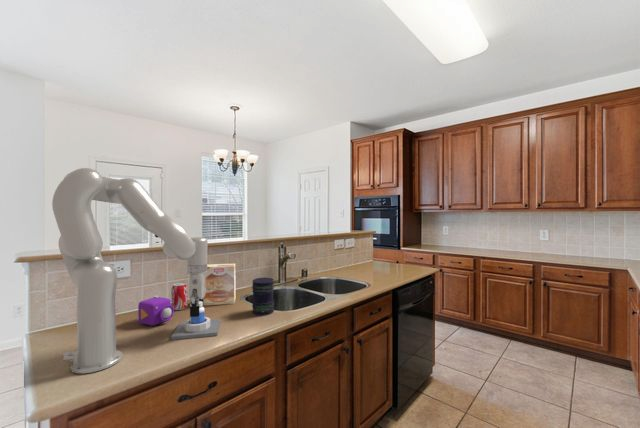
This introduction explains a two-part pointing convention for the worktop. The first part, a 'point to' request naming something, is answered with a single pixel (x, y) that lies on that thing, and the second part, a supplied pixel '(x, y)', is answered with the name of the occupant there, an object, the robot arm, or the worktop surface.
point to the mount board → (196, 329)
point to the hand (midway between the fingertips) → (197, 312)
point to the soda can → (179, 296)
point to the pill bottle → (201, 315)
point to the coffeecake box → (220, 284)
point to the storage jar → (263, 296)
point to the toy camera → (155, 311)
